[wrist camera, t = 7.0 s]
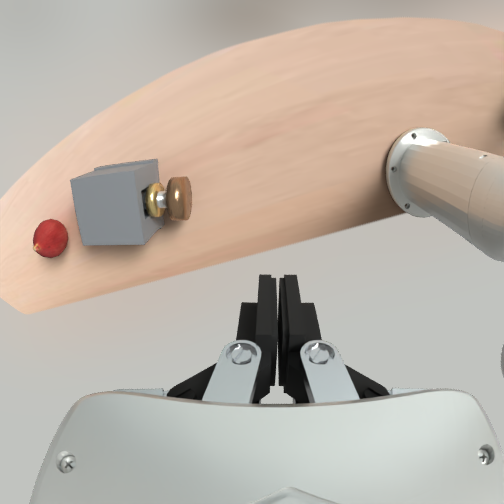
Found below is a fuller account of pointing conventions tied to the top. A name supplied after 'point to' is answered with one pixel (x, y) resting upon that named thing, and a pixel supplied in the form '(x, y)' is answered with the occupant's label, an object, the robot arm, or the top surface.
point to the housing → (115, 204)
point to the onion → (50, 238)
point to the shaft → (169, 199)
